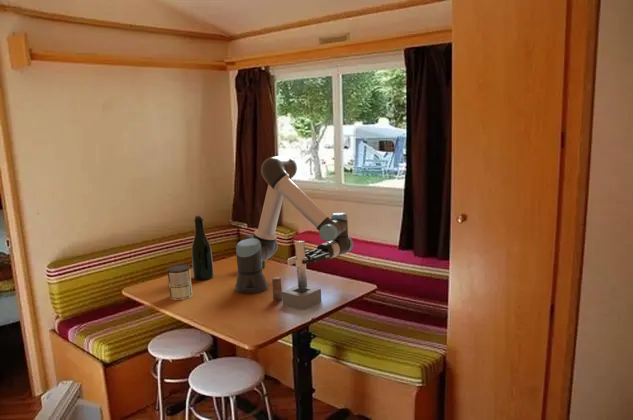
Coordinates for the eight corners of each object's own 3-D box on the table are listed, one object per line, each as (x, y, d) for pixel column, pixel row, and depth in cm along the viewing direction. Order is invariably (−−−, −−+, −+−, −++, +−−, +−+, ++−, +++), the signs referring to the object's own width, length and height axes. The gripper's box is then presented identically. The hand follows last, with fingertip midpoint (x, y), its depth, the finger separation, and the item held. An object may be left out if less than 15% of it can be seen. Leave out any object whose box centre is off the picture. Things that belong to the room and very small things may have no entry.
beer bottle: (204, 273, 269) (199, 213, 263) (218, 276, 263) (213, 214, 257) (189, 279, 261) (183, 217, 255) (202, 281, 255) (197, 218, 249)
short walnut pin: (271, 300, 223) (270, 279, 221) (277, 297, 226) (276, 276, 224) (277, 302, 221) (276, 280, 219) (284, 299, 224) (282, 278, 222)
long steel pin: (296, 287, 216) (293, 242, 213) (302, 284, 219) (299, 240, 216) (302, 288, 214) (300, 243, 210) (309, 286, 216) (306, 241, 213)
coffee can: (166, 297, 235) (163, 268, 232) (185, 291, 242) (182, 263, 239) (177, 301, 227) (174, 272, 225) (196, 295, 234) (194, 266, 232)
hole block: (282, 304, 217) (281, 291, 216) (301, 296, 226) (300, 284, 225) (303, 310, 209) (302, 296, 208) (321, 301, 218) (320, 288, 217)
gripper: (342, 261, 223) (307, 274, 205) (314, 256, 234) (278, 268, 216) (341, 244, 221) (306, 257, 204) (313, 240, 232) (277, 251, 215)
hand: (292, 263), depth 210 cm, fingers closed on long steel pin, 4 cm apart
